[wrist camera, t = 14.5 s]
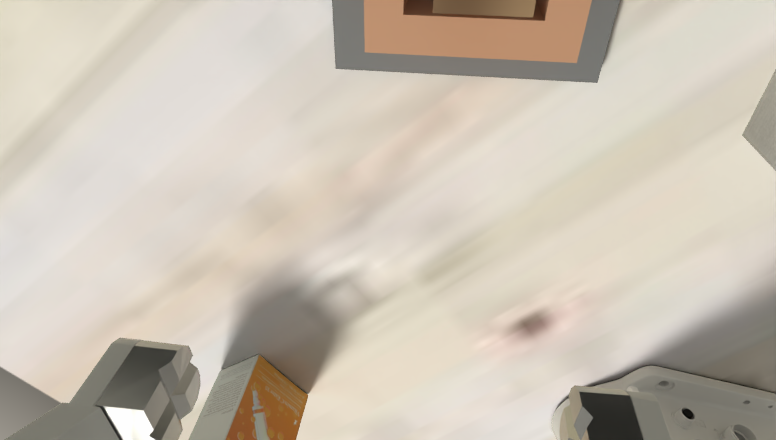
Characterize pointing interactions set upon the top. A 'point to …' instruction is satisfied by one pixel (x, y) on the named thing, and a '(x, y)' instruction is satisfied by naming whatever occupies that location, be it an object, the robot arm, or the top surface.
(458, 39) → the tan square frame
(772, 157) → the white carton
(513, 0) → the tall wooden block
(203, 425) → the small box
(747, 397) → the robot arm
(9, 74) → the top surface
